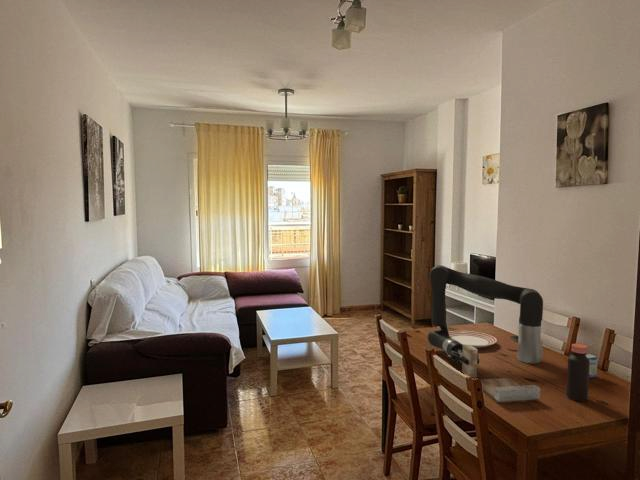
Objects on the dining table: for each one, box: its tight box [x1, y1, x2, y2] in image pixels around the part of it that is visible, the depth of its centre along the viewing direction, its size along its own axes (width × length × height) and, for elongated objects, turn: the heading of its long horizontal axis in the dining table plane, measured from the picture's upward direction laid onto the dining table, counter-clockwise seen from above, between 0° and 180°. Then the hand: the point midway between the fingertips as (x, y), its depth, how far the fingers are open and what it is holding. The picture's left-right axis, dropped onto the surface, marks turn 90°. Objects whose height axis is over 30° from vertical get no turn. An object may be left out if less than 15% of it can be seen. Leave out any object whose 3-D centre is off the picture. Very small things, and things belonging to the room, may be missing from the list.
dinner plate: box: [448, 330, 498, 349], centre depth 217 cm, size 27×27×3 cm
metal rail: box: [494, 384, 541, 402], centre depth 149 cm, size 16×3×4 cm, turn 98°
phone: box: [509, 335, 518, 343], centre depth 218 cm, size 8×1×15 cm
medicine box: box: [586, 353, 598, 379], centre depth 173 cm, size 8×4×9 cm, turn 106°
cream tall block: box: [461, 345, 479, 379], centre depth 174 cm, size 4×6×12 cm, turn 8°
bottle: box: [565, 343, 590, 403], centre depth 152 cm, size 7×7×20 cm
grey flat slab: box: [480, 377, 539, 405], centre depth 158 cm, size 16×18×1 cm
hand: (472, 362), depth 171 cm, fingers open, 4 cm apart
